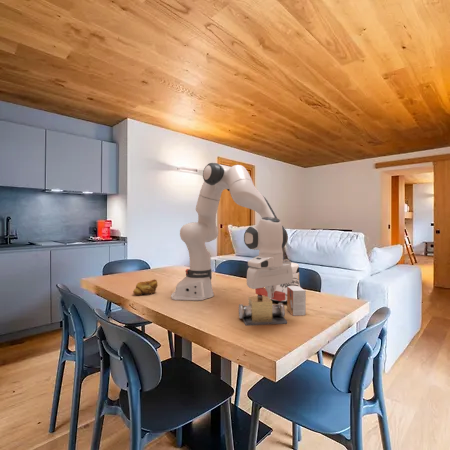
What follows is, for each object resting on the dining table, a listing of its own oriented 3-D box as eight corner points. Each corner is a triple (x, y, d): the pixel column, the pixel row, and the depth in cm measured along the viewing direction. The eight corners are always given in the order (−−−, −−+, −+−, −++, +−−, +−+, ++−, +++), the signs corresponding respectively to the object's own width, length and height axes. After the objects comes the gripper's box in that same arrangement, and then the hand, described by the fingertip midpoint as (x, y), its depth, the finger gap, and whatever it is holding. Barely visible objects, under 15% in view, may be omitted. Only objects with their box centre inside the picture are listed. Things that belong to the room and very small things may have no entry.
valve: (242, 325, 105) (241, 299, 105) (237, 314, 117) (237, 291, 117) (287, 323, 107) (287, 297, 106) (278, 313, 118) (278, 290, 118)
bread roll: (135, 297, 146) (135, 282, 146) (130, 293, 154) (130, 279, 154) (159, 294, 153) (158, 279, 153) (153, 290, 161) (153, 276, 161)
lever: (253, 293, 112) (253, 287, 112) (260, 292, 115) (260, 286, 115) (279, 301, 101) (279, 294, 101) (286, 299, 104) (285, 292, 103)
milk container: (294, 307, 127) (294, 268, 126) (259, 302, 136) (259, 265, 135) (305, 298, 141) (305, 263, 141) (273, 294, 150) (272, 260, 150)
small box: (286, 309, 123) (286, 286, 123) (299, 309, 124) (299, 285, 124) (292, 315, 115) (292, 290, 115) (305, 315, 116) (305, 290, 116)
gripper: (284, 257, 112) (284, 291, 113) (244, 261, 101) (244, 299, 102) (296, 259, 107) (296, 295, 107) (255, 263, 96) (255, 303, 96)
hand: (270, 297), depth 104 cm, fingers closed
